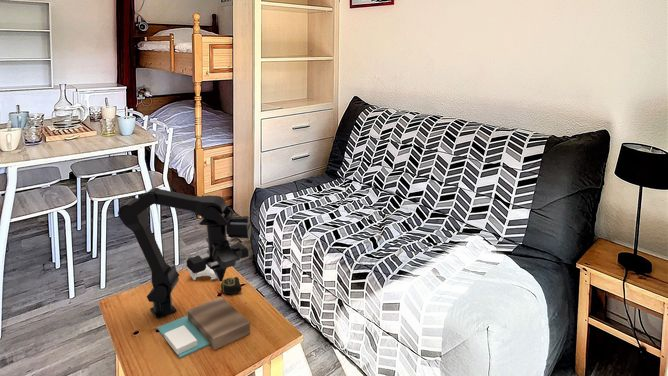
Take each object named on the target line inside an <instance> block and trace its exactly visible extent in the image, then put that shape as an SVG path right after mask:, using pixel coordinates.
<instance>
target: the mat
mask: <svg viewBox="0 0 668 376" xmlns="http://www.w3.org/2000/svg"><path fill="white" fill-rule="evenodd" d="M183 325H184V326H185V327H186V328H187V329H188V330H189V332H190V333H191V334H192V335H193V336H194V337H195V338H196V339H197V345H198V346H196V347H194V348H191V349H189V350H187V351H185V352H183V353H180V354H178V355H177V353H176V352H175V354H176V355H177V357H178V358H179V359H182V358H184V357H186V356H188V355H191V354H193V353H195V352H198V351H199V350H202V349H204V348H206V347H209V346H210V343H209V342H208V341H207V340H206V339H205V338H204V337H203V335H202V334H201V333H200V332H199V331H198V330H197V329H196V328H195V327H194V325H193V324H192V323H191V322H190V321H189V320H188V315H185V316H183V317H180V318H177V319H175V320H173V321H170V322H167V323H165V324H161V325H160V326H157V327H156V328H157V330H158V331H159V333H160V334H161V336H162V337H163V338H164V339H165V335H164V333H166V332H169V331H171V330H173V329H176V328H178V327H181V326H183ZM171 349H172V350H173V348H172V347H171Z"/></svg>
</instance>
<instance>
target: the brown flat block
mask: <svg viewBox="0 0 668 376" xmlns="http://www.w3.org/2000/svg"><path fill="white" fill-rule="evenodd" d="M186 313H187V315H188V320H189V321H190V322H191V323H192V324H193V325H194V327H195V328H196V329H197V330H198V331H199V332H200V333H201V334H202V335H203V337H204V338H205V339H206V340H207V341H208V342H209V343H210V345H209V346H210V347H211V348H212V349H213V350H214V351H216V350H218V349H220V348H222V347H225V346H227V345H229V344H231V343H233V342H235V341H237V340H240V339H242V338H244V337H245V336H249V335H250V334H251V322H250V321H249V320H248V319H247V318H245V317H244V315H242V314H241V313H240V312H239V311H238V310H237V309H236V308H235V307H234V306H232V305H231V303H229V302H228V301H227V299H225V298H223V297H222V296H219V297H217V298H215V299H212V300H209V301H207V302H204V303H202V304H199V305H197V306H193V307H191V308H189V309H187V310H186ZM187 315H186V316H187Z"/></svg>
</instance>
